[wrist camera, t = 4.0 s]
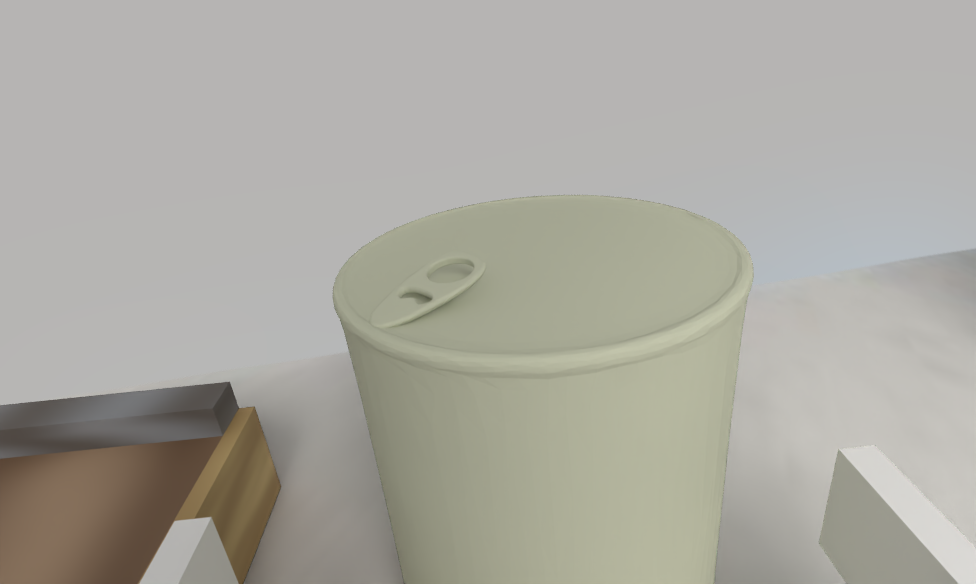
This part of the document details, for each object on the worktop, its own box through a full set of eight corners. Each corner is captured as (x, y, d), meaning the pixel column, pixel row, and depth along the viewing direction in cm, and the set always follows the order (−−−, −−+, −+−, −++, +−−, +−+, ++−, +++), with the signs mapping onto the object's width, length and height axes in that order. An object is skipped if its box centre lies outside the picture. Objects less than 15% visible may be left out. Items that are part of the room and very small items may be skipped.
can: (353, 597, 19) (253, 252, 13) (548, 452, 24) (530, 164, 19) (572, 874, 12) (541, 414, 7) (773, 591, 17) (839, 210, 12)
